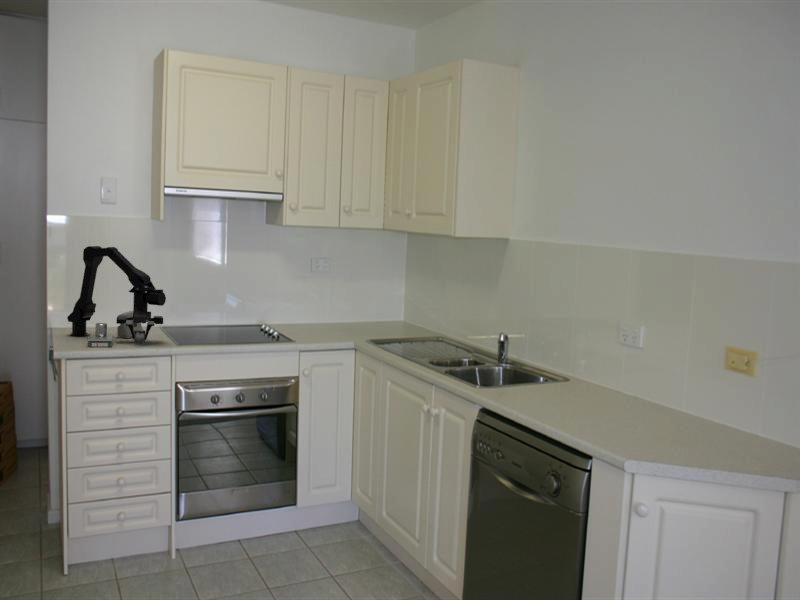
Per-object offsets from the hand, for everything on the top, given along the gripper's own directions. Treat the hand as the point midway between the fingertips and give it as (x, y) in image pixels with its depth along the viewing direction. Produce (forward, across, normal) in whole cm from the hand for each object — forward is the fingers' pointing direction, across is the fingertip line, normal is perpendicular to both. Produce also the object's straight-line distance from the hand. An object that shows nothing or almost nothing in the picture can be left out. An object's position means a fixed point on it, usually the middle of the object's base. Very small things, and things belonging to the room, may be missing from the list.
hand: (139, 339), depth 316 cm
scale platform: (-2, -15, -6) cm, 17 cm away
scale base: (+1, -15, -6) cm, 17 cm away
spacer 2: (+1, 0, 0) cm, 1 cm away
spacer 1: (-2, -15, -4) cm, 16 cm away
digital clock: (+1, -4, +16) cm, 16 cm away
